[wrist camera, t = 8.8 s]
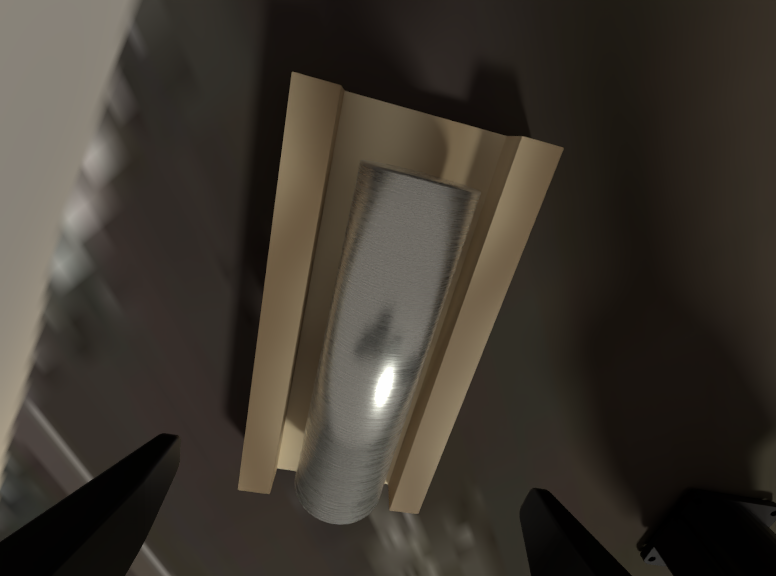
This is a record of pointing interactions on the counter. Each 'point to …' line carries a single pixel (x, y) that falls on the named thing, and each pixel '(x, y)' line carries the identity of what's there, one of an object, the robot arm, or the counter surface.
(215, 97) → the counter surface
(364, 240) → the axle
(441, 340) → the cradle
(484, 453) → the counter surface
